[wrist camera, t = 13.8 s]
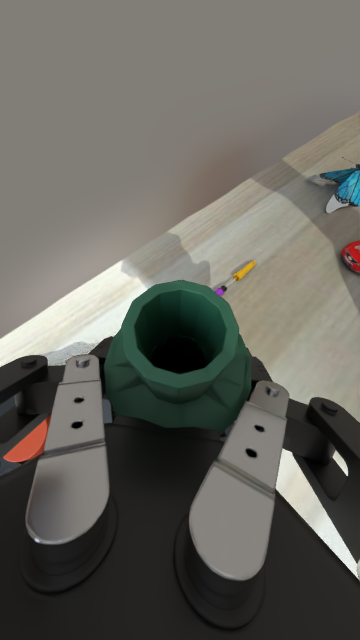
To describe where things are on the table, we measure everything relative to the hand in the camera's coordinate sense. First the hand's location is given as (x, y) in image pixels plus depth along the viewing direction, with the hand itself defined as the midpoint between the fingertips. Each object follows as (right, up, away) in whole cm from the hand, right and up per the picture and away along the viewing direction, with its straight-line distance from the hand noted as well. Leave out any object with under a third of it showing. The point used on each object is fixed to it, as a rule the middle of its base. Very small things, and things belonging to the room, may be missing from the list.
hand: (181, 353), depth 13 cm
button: (-12, -8, +5) cm, 15 cm away
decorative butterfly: (+31, +27, +30) cm, 51 cm away
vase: (0, -5, +7) cm, 8 cm away
